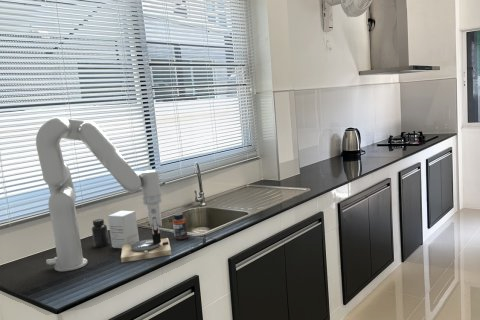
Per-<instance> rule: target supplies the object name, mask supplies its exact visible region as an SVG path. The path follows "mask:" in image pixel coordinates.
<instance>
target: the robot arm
mask: <svg viewBox="0 0 480 320" xmlns="http://www.w3.org/2000/svg"><path fill="white" fill-rule="evenodd" d="M62 139H64V140H65V139H66V140H71V141H72V140H74V141H81V142H83V144H84V145H85V146H86V148H87V149H89V150H90V151H91V152H90V153H92V155H93V156H94V157H95V158H96V159H97V160H98V161H99V163H101V165H102V166H103V167H104V168H105V169H106V170H107V171H108V172H109V173H110V175H111V176H112V177H113V178H114V179H115V180H116V182H117V183H118V184H119V185H120V186H121V187H122V189H124V191H125V192H128V193H135V192H138V191H139V190H140V189H141V194H142V203H143V205H144V206H146V211H147V217H148V222H149V226H150V228H151V229H152V230H151V232H152V231H153V234H152V233H151V234H152V240H153V243H154V244H155V243H161V239H162V237H161V238H160V236H161V232H160V233H159V229H160V227H162V226H163V223H162V214H161V213H162V211H161V206H160V204H161V203H162V196H161V187H160V174H159V172H158V171H157V170H156V169H147V170H142V171H134V169H133V168H132V167H131V166H130V165H129V164H128V162H127V161H126V159H124V157H123V155H122V154H121V152H120V151H119V149H118V148H117V147H116V146H115V144H114V143H113V142H112V141H111V140H110V139H109V138H108V136H107V135H106V134H105V133H104V131H103V130H101V128H100V127H99V126H98V124H96V123H95V122H94V121H87V120H79V119H74V118H73V119H72V118H68V117H67V118H66V117H61V116H60V117H59V116H57V117H56V116H54V117H52V118H50V119H48V120H47V121H45V123H43V124H42V125H41V127H39V129H38V131H37V133H36V137H35V146H36V151H37V155H38V159H39V165H40V168H41V172H42V173H41V174H42V178H43V181H44V182H45V184H47V185H48V189H49V193H50V196H49V198H48V204H47V206H48V211H49V215H50V219H51V227H52V232H53V238H54V246H55V251H56V256H55V257H54V258H48V259H46V260H45V261H46V262H45V263H46V265H48V266H51V265H52V266H53V265H54V270H55V271H57V272H71V271H74V270H78V269H80V268H83V267H85V266H86V265H88V263H89V261H88V259H87V258H85V257H84V256H83V249H82V243H81V242H82V241H81V235H80V228H79V221H78V216H77V215H78V214H77V209H76V199H77V198H76V197H77V195H76V190H75V187H74V186H75V185H74V183H73V179H72V175H71V170H70V168H69V165H67V164H66V163H65V162H64V157H63V154H62V153H63V151H62V149H61V144H60V143H61V140H62Z"/></svg>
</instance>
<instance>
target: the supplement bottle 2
mask: <svg viewBox="0 0 480 320" xmlns="http://www.w3.org/2000/svg"><path fill="white" fill-rule="evenodd" d="M173 216H174V218H173V219H172V227H173V232H174V233H173V235H174V239H176V240H184V239H187V238H188V229H187V220H186V217H184V213H182V212H179V213H174V214H173Z"/></svg>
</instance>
